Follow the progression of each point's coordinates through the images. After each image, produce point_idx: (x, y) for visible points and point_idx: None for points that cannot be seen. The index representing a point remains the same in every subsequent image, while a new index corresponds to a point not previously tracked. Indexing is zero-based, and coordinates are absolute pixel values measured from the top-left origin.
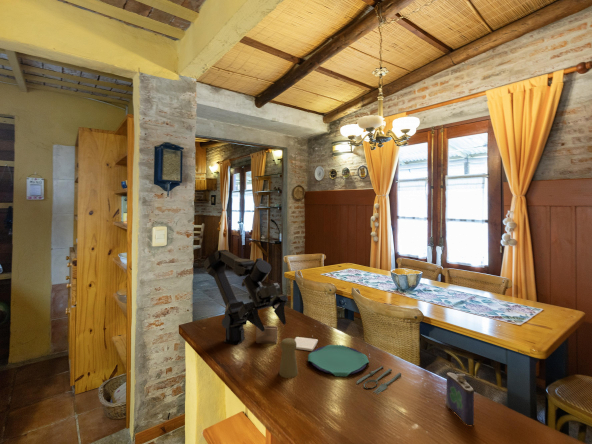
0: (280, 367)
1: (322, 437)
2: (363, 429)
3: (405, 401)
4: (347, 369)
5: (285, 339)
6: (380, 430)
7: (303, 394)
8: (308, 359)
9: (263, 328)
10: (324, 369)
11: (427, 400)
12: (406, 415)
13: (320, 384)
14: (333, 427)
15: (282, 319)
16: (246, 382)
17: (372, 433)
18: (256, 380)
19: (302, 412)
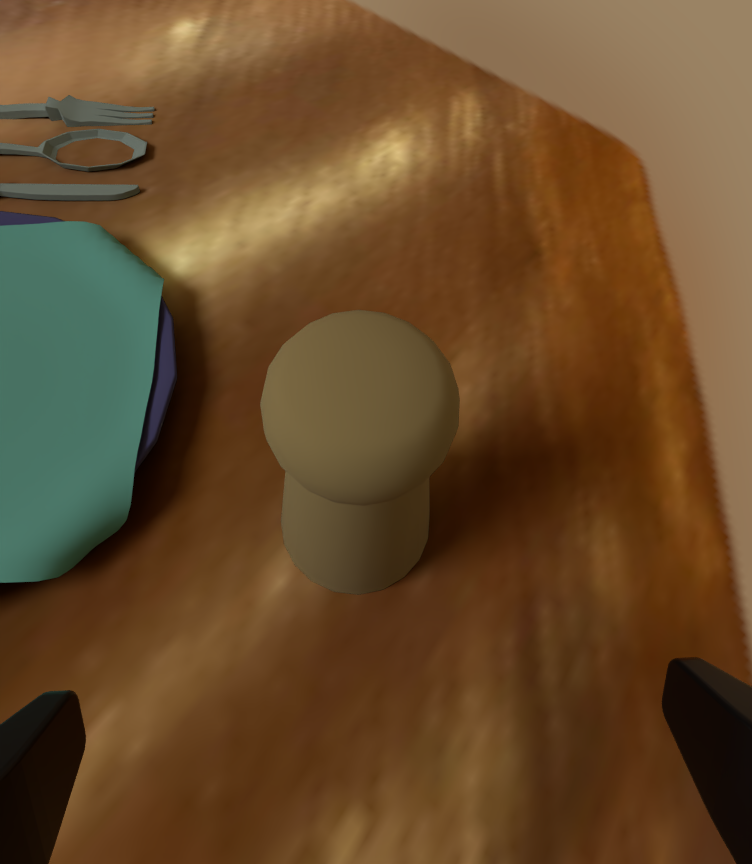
0: (424, 527)
1: (545, 104)
2: (394, 55)
3: (121, 39)
4: (37, 273)
5: (388, 400)
6: (351, 29)
7: (437, 292)
8: (110, 517)
9: (719, 670)
10: (142, 360)
11: (54, 4)
12: (207, 13)
13: (290, 297)
14: (477, 108)
15: (11, 828)
16: (701, 620)
17: (385, 36)
18: (620, 593)
19: (529, 213)
